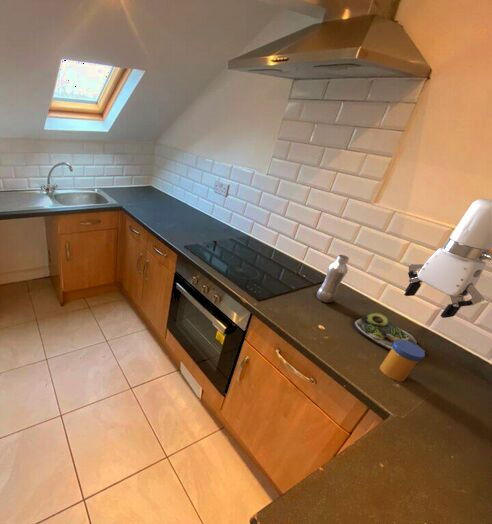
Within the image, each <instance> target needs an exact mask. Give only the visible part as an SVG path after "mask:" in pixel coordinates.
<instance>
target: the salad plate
mask: <svg viewBox="0 0 492 524" xmlns="http://www.w3.org/2000/svg"><path fill="white" fill-rule="evenodd" d="M353 325H354V328H355V330H356V331H357V332H358V333H359V334H360V335H362V336H363V337H365V338H367V339H369V340H370V341H372V342H373V343H376V344H377V345H379V346H380V347H383V348H385V349H387V350H389V351H390V350H391V349H392V344H393V342H394V341H395V340H397V339H402V340H406V341H409V342H411V343H413V344H415V345H417V346H418V347H420V348H421V349H422V350H423V351H424V353H426V350H424V349H423V347H421V346H420V345H419V344H417V343H418V342H417V339H416V338H415V337H414V336H413V335H412V334H411V333H409V332H408V331H405V330H403V329H401V328H399V327H398V326H397V325H395V324H393V323H392V322H391V321H390V320H389V318H388V317H387V316H386V315H385V314H383V313H380V312H370V313H368V314H366V316H363V317H361V318H359V319H356V320H355V321H354V322H353Z"/></svg>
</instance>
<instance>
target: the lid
mask: <svg viewBox="0 0 492 524" xmlns="http://www.w3.org/2000/svg"><path fill="white" fill-rule="evenodd" d="M417 345H418V344H417ZM417 345H415V344H413V343H411V342H409V341H406V340H402V339H397V340H395V341H394V342H393V344H392V348H393V350H394V351H395V352H396V353H398V354H399V355H401V356H402V357H404V358H406V359H409V360H412V361H418V362H421V361H423V360H424V359H425V356H426V352H424V351H425V350H424V349H423V348H422V347H421V346H420V347H421V348H422V349H423V350H424V351H423V350H422V349H421V348H420V347H418V346H417Z"/></svg>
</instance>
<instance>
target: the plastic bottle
mask: <svg viewBox="0 0 492 524" xmlns="http://www.w3.org/2000/svg"><path fill="white" fill-rule="evenodd" d="M349 260H350V256H349V257H348V256H346V255H345V254H338V256H337V258H336V260H335V261H333V262H332V263H330V265H329V266H328V267H327V272H326V275H325V278H324V280H323V282H322V283H321V286H320V287H319V289H318V290H317V292H316V297H317V299H318V300H319V301H321V302H323V303H325V304H327V303H328V304H329V303H332V302H334V300H335V299H336V296H337V292H338V289H339V286H340V284H341V282H342V281H343V279H344V278H345V277H346V275H347V273H348V270H349V269H348V266H347V264H348V263H349Z"/></svg>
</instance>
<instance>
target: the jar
mask: <svg viewBox="0 0 492 524" xmlns="http://www.w3.org/2000/svg"><path fill="white" fill-rule="evenodd" d="M418 363H419V361H412V360H409V359H406V358H404V357H402V356H401V355H399V354H398V353H396V352H395V351H394V350H393V348H392V349H391V350H389V352H388V353H387V355H386V356H385V358H384V359H383V361H382V362H381V364H380V365H379V370H380V371H381V373H382V374H383V375H385V376H386V377H388V378H390V379H392V380H394V381H396V382H404V381H406V379H407V378H408V377H409V375H410V374H411V372H412V371H413V370H414V368H415V367H416V366H417V364H418Z"/></svg>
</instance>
